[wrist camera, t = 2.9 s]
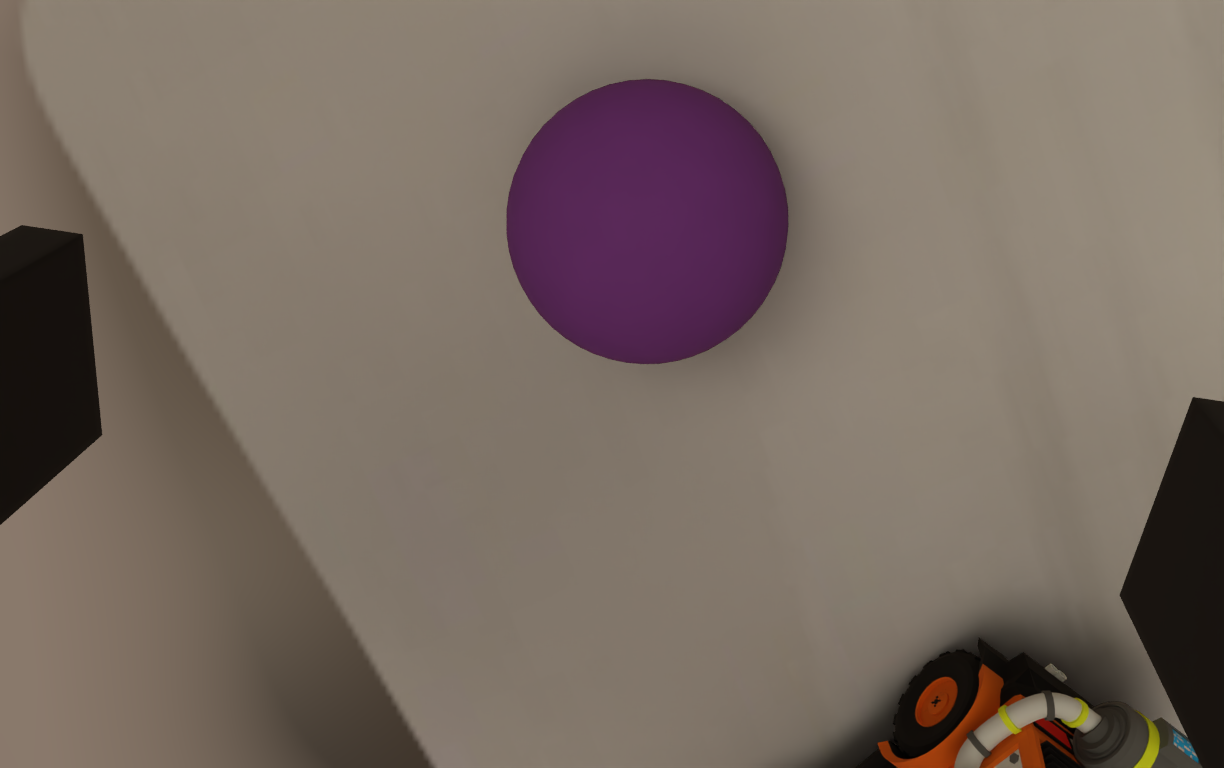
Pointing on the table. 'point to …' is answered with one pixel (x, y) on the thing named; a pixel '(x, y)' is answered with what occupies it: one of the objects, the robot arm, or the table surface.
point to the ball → (647, 221)
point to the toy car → (1019, 721)
